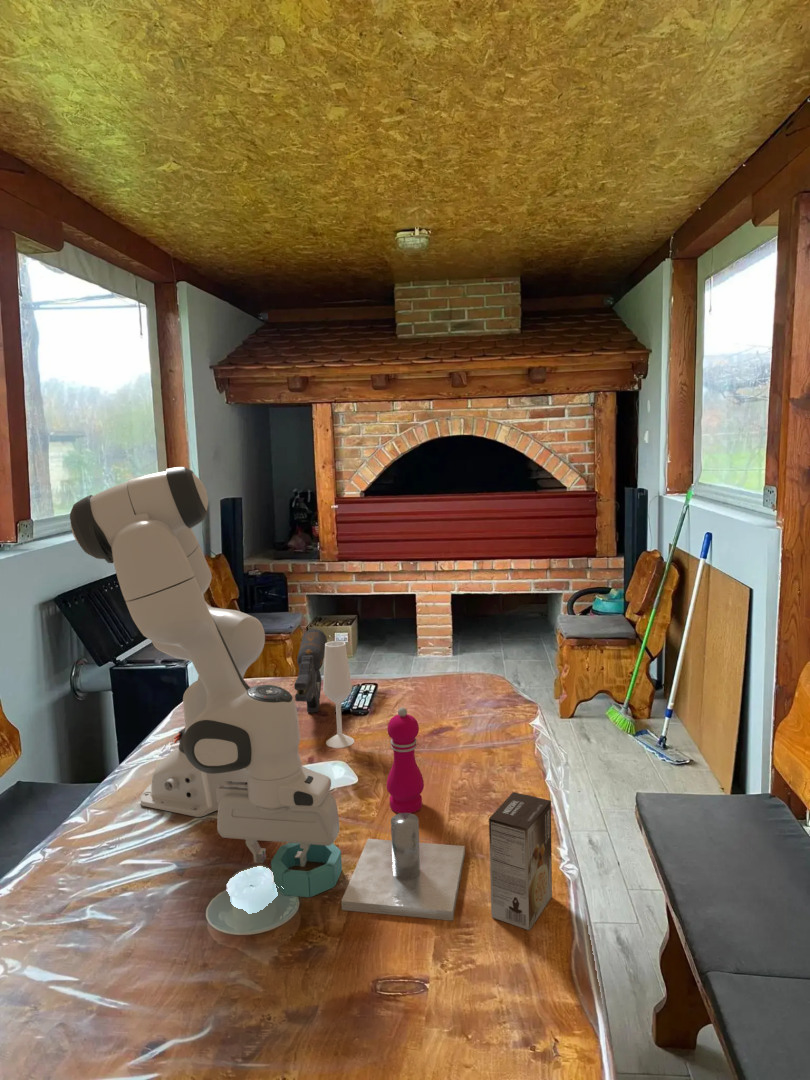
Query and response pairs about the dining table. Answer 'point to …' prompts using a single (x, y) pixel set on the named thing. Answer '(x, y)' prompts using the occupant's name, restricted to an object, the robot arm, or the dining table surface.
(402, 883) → the post stand
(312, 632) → the gun
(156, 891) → the dining table surface
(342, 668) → the champagne flute
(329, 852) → the ring
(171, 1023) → the dining table surface
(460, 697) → the dining table surface
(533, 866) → the coffee box
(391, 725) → the pepper mill
